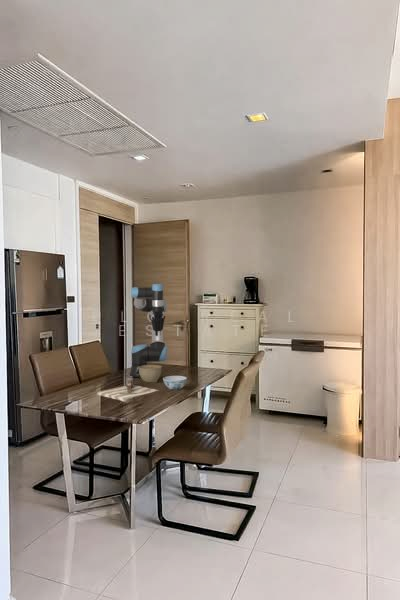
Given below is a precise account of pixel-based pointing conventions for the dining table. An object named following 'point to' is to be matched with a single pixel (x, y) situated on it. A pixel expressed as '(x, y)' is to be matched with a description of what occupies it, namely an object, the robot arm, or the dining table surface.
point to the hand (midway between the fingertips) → (158, 340)
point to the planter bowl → (150, 372)
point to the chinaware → (174, 382)
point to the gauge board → (125, 392)
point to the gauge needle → (129, 383)
